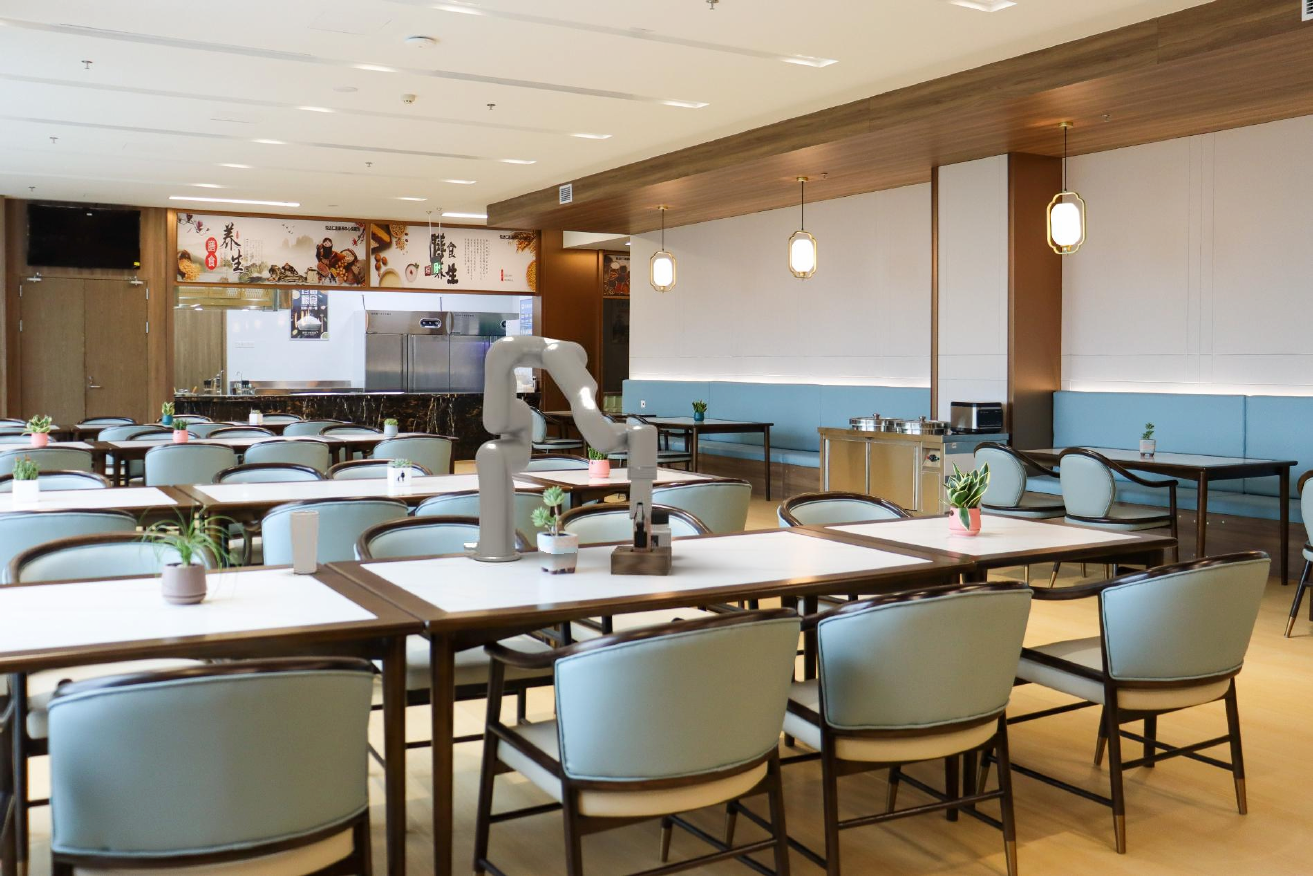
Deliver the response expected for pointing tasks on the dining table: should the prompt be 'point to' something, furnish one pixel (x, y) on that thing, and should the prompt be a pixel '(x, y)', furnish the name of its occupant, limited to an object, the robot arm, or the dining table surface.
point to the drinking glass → (304, 540)
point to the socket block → (641, 561)
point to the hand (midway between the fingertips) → (641, 545)
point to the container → (660, 528)
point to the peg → (648, 530)
